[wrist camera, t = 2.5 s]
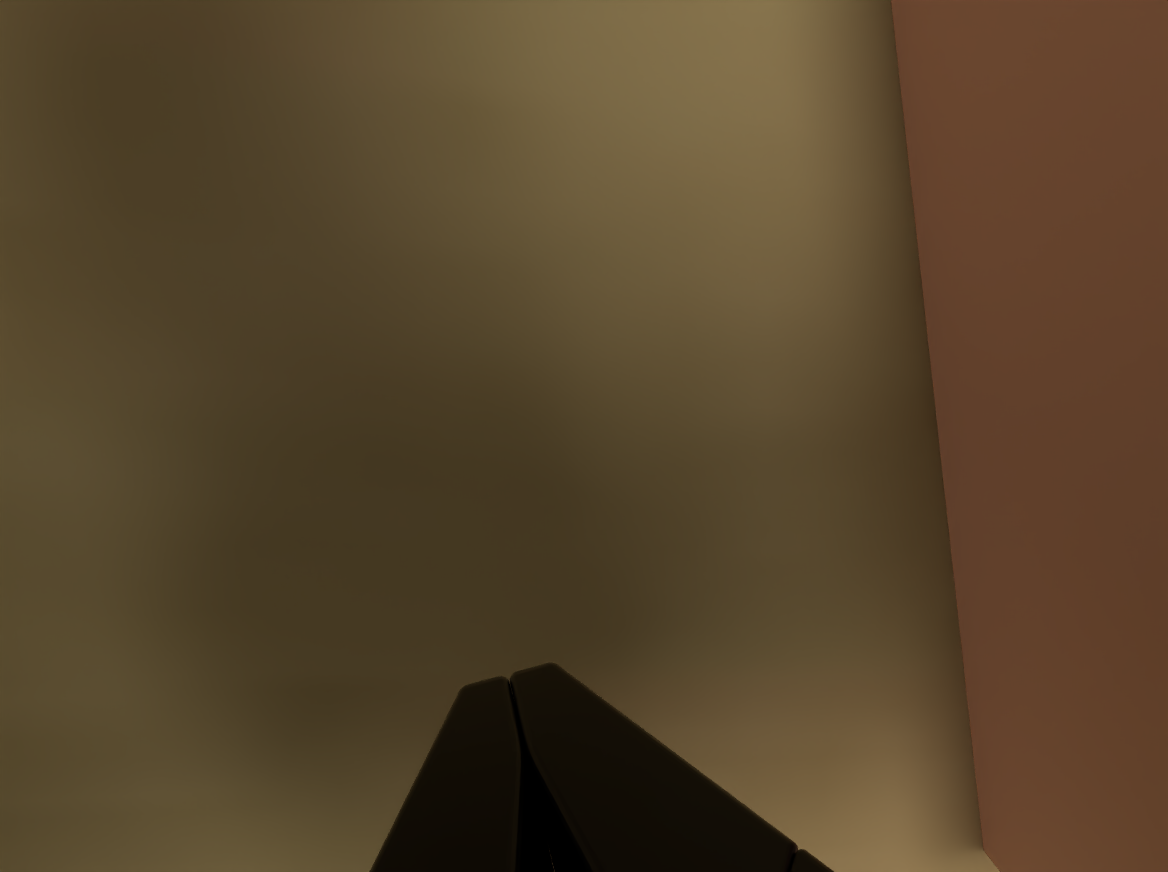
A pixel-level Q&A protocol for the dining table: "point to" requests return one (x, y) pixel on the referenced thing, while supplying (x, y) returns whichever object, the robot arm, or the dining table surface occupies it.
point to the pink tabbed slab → (1051, 405)
